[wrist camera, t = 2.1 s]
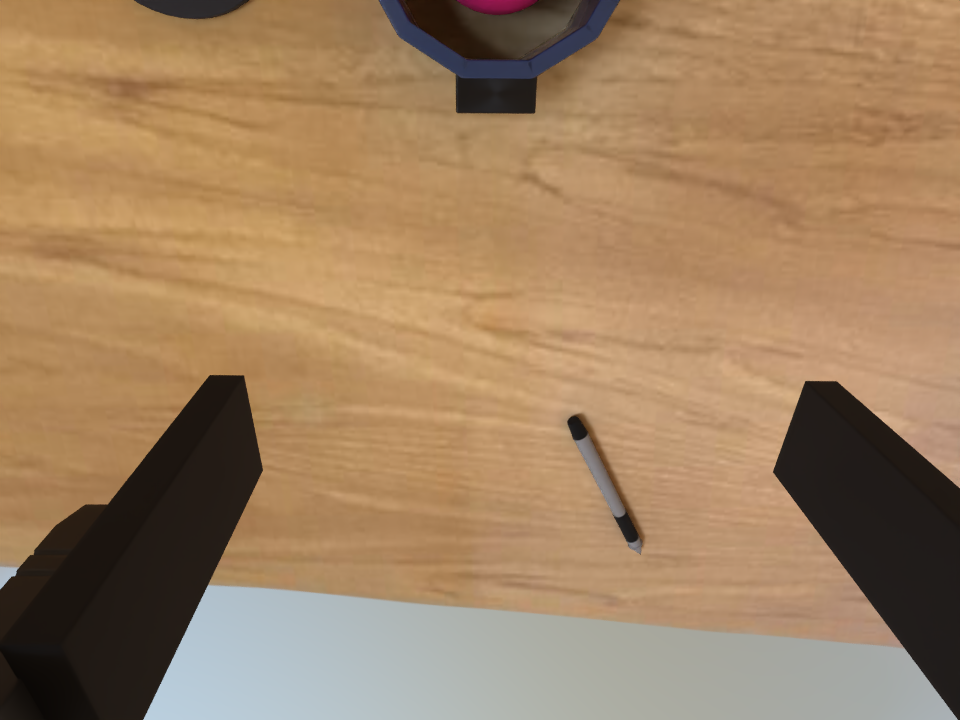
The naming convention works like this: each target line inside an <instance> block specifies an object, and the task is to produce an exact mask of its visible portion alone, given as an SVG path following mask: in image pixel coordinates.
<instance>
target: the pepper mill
mask: <svg viewBox="0 0 960 720" xmlns="http://www.w3.org/2000/svg"><path fill="white" fill-rule="evenodd" d="M457 1H458V2H459V3H461V4H462V5H464V6H466V7H468V8H470V9H472V10H474V11H477V12H481V13H484V14H492V15H503V14H511V13H514V12H518V11H521V10H523V9H525V8H527V7H529V6H531V5H533V4H534V3H536V2H537V1H539V0H457Z"/></svg>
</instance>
